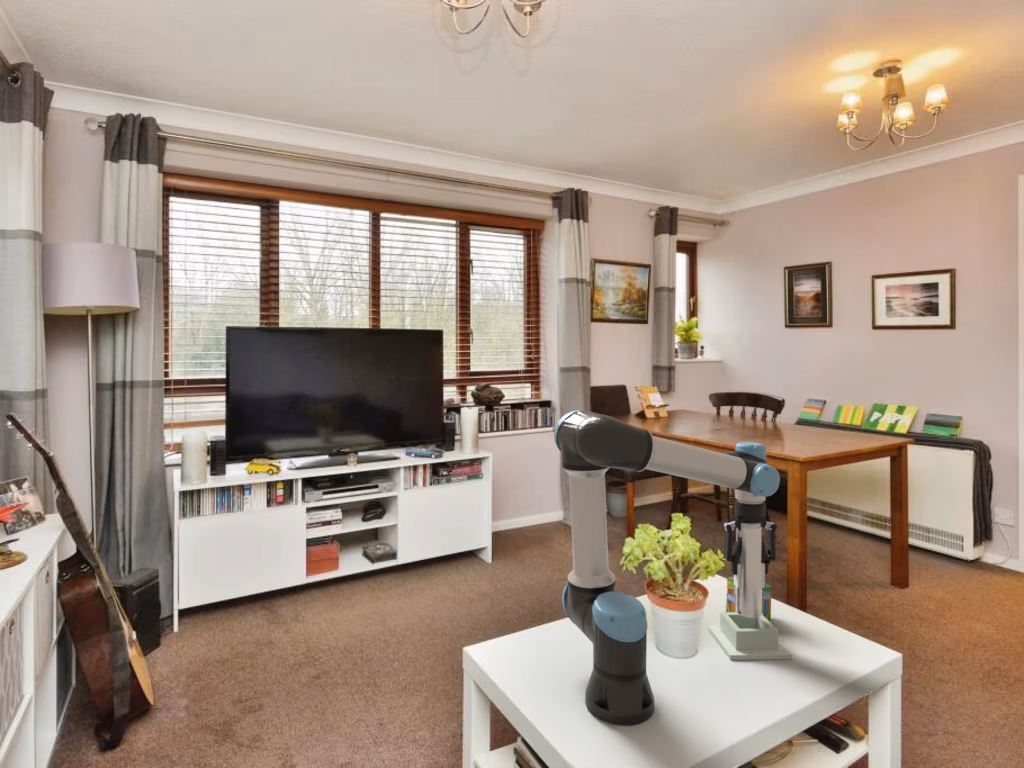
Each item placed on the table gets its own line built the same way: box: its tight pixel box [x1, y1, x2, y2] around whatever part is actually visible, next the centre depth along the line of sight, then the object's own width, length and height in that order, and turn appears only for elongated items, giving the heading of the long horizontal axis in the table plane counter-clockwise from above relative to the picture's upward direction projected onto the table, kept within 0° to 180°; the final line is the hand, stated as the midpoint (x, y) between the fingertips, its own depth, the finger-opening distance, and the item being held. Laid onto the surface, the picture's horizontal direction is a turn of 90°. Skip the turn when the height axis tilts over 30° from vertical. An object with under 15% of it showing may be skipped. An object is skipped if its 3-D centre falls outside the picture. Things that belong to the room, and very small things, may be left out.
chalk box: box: [725, 576, 773, 624], centre depth 169 cm, size 9×9×15 cm
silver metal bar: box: [735, 523, 764, 618], centre depth 155 cm, size 6×6×25 cm
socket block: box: [707, 611, 793, 661], centre depth 155 cm, size 16×16×6 cm
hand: (749, 585), depth 155 cm, fingers closed on silver metal bar, 6 cm apart
